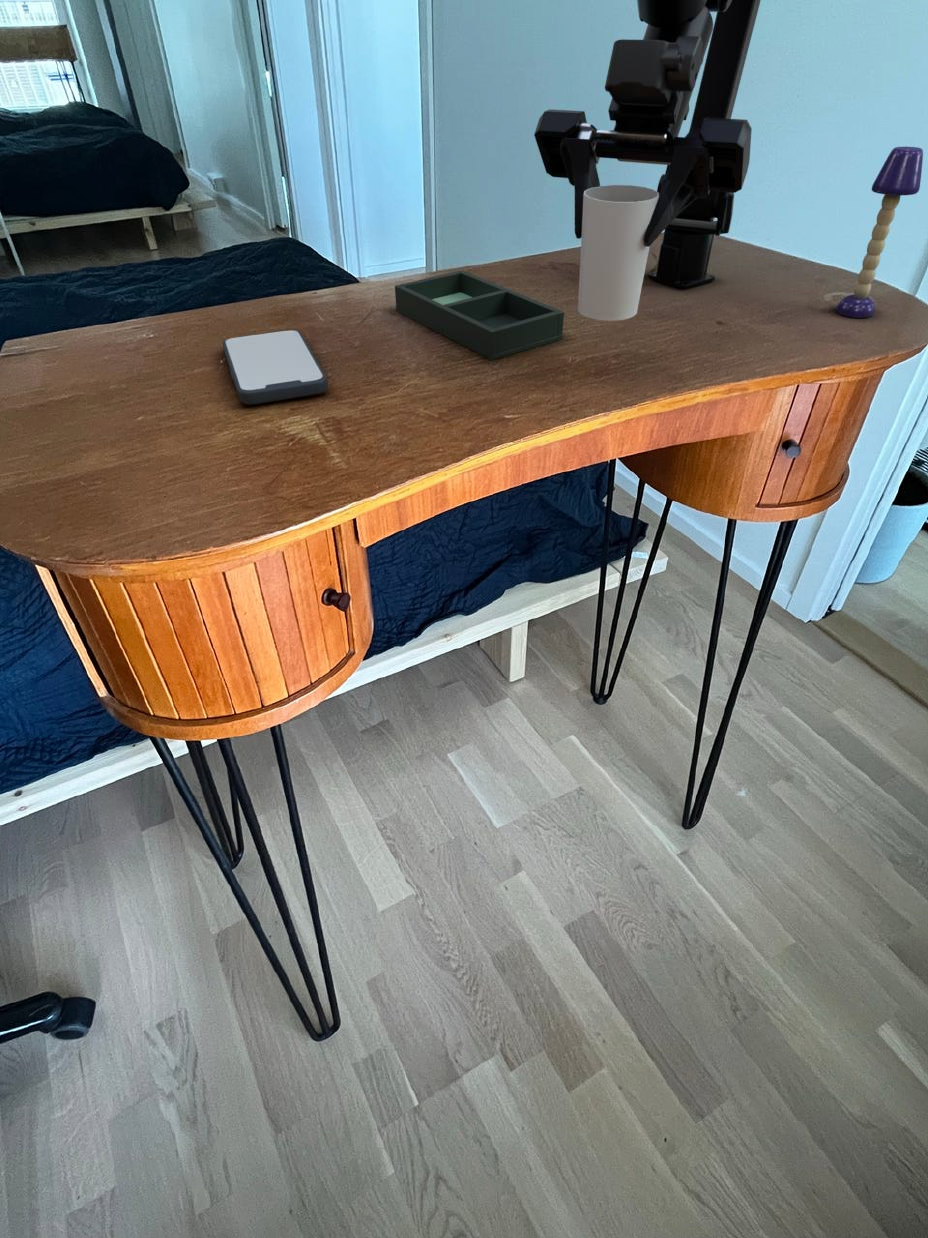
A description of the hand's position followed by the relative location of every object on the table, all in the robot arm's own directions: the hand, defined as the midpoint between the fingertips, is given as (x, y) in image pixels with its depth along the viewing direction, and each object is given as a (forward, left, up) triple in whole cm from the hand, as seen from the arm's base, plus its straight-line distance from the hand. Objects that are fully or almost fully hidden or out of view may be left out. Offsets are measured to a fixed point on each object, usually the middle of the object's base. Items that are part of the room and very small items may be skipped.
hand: (610, 239), depth 64 cm
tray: (+1, -19, -13) cm, 23 cm away
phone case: (+26, -21, -13) cm, 36 cm away
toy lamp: (-38, +5, -13) cm, 41 cm away
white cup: (-1, -1, -7) cm, 7 cm away
